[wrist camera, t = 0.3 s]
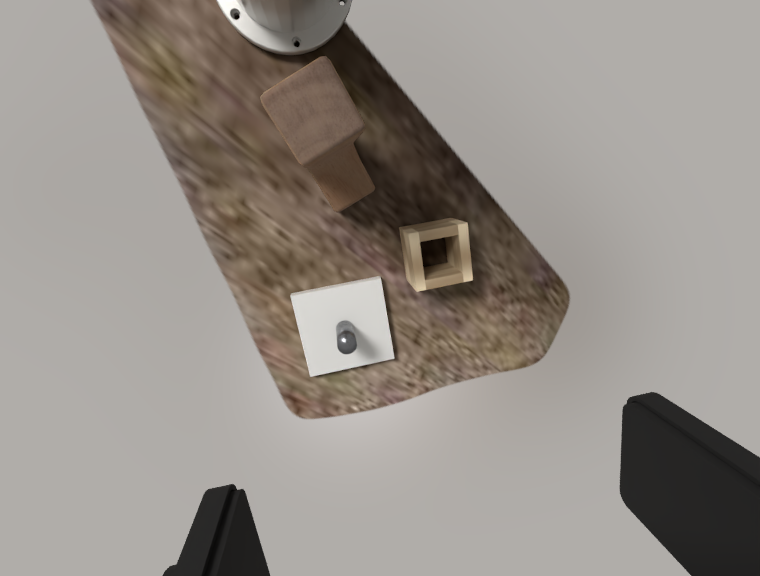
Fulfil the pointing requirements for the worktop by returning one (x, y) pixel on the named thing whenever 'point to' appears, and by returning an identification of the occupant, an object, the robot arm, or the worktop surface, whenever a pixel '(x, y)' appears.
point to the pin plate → (338, 308)
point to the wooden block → (321, 130)
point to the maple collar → (455, 247)
